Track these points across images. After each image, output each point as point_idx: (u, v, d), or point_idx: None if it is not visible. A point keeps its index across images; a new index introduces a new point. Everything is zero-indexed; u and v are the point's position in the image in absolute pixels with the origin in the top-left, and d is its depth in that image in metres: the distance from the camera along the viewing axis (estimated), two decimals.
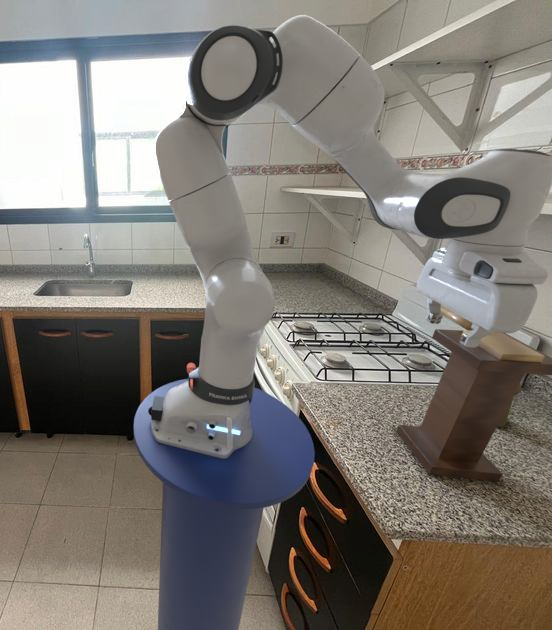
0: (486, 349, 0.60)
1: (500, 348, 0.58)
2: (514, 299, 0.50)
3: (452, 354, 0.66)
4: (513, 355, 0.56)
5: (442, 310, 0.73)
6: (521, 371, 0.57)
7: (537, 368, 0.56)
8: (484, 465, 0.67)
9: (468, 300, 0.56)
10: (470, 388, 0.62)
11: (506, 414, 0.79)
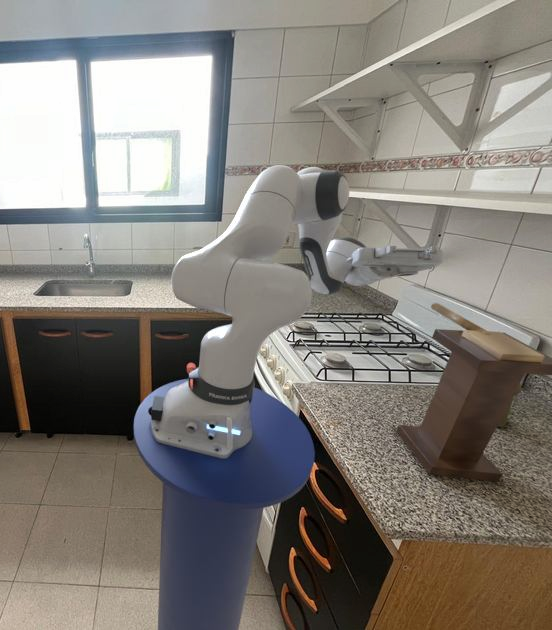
0: (486, 349, 0.60)
1: (500, 348, 0.58)
2: None
3: (452, 354, 0.66)
4: (513, 355, 0.56)
5: (442, 310, 0.73)
6: (521, 371, 0.57)
7: (537, 368, 0.56)
8: (484, 465, 0.67)
9: None
10: (470, 388, 0.62)
11: (506, 414, 0.79)
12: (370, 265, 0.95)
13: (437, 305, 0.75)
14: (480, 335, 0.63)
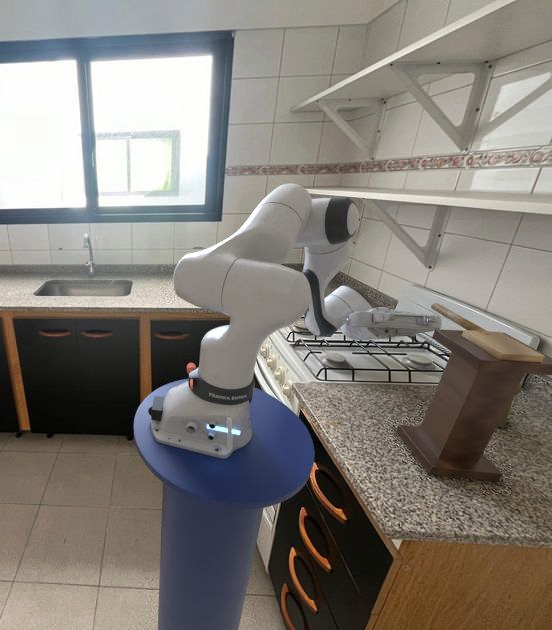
0: (486, 349, 0.60)
1: (500, 348, 0.58)
2: None
3: (452, 354, 0.66)
4: (513, 355, 0.56)
5: (442, 310, 0.73)
6: (521, 371, 0.57)
7: (537, 368, 0.56)
8: (484, 465, 0.67)
9: None
10: (470, 388, 0.62)
11: (506, 414, 0.79)
12: (368, 327, 0.94)
13: (437, 305, 0.75)
14: (480, 335, 0.63)
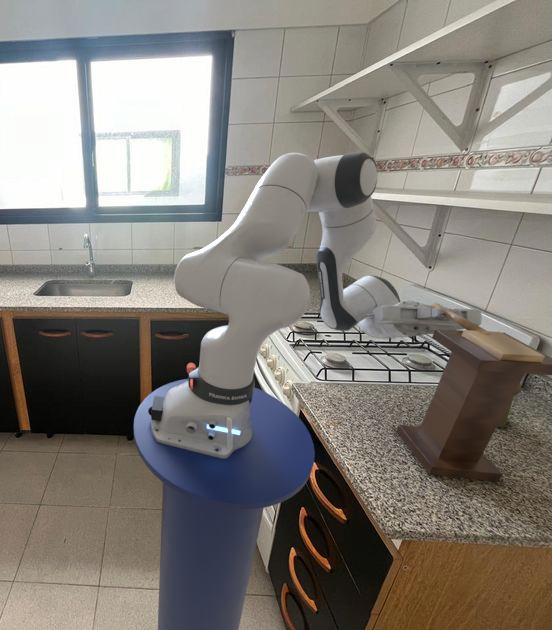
0: (486, 349, 0.60)
1: (500, 348, 0.58)
2: None
3: (452, 354, 0.66)
4: (513, 355, 0.56)
5: None
6: (521, 371, 0.57)
7: (537, 368, 0.56)
8: (484, 465, 0.67)
9: None
10: (470, 388, 0.62)
11: (506, 414, 0.79)
12: (394, 323, 0.83)
13: (437, 305, 0.75)
14: (480, 335, 0.63)
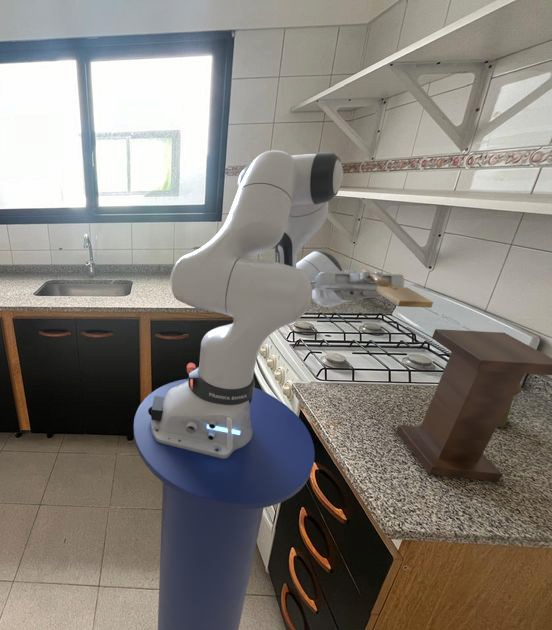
0: (390, 299, 0.71)
1: (399, 297, 0.70)
2: None
3: (452, 354, 0.66)
4: (408, 302, 0.68)
5: None
6: (521, 371, 0.57)
7: (537, 368, 0.56)
8: (484, 465, 0.67)
9: None
10: (470, 388, 0.62)
11: (506, 414, 0.79)
12: (333, 289, 0.95)
13: (365, 270, 0.87)
14: (389, 289, 0.74)
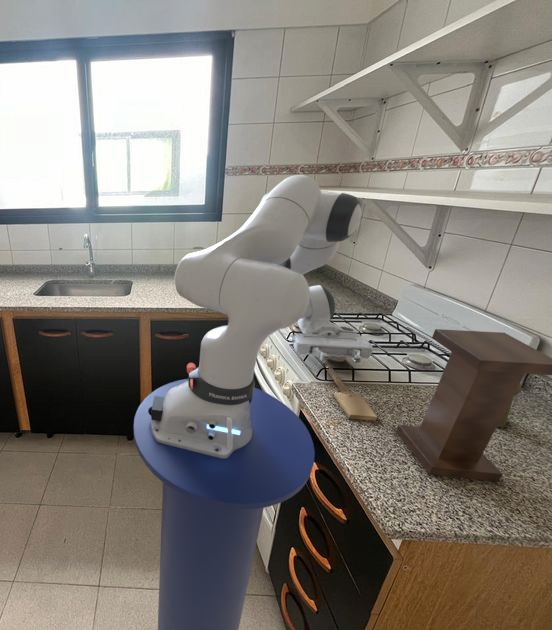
0: (343, 409, 0.85)
1: (350, 409, 0.84)
2: None
3: (452, 354, 0.66)
4: (357, 415, 0.82)
5: (330, 372, 0.99)
6: (521, 371, 0.57)
7: (537, 368, 0.56)
8: (484, 465, 0.67)
9: (345, 341, 0.99)
10: (470, 388, 0.62)
11: (506, 414, 0.79)
12: None
13: (328, 367, 1.01)
14: (344, 397, 0.88)
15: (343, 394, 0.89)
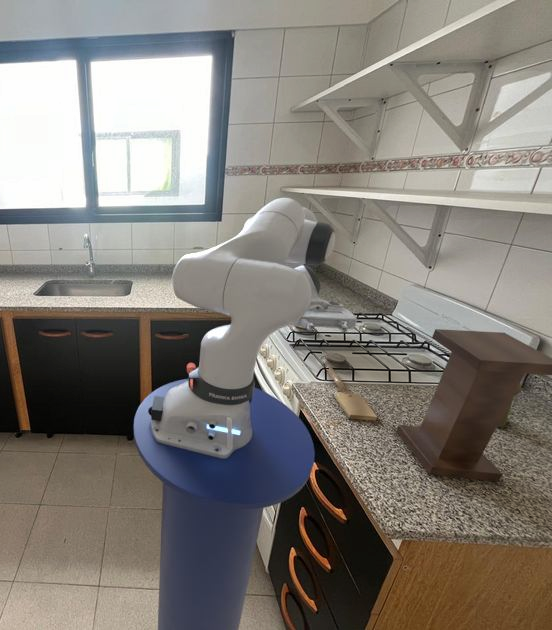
0: (343, 409, 0.85)
1: (350, 409, 0.84)
2: None
3: (452, 354, 0.66)
4: (357, 415, 0.82)
5: (330, 372, 0.99)
6: (521, 371, 0.57)
7: (537, 368, 0.56)
8: (484, 465, 0.67)
9: (332, 314, 1.09)
10: (470, 388, 0.62)
11: (506, 414, 0.79)
12: None
13: (328, 367, 1.01)
14: (344, 397, 0.88)
15: (343, 394, 0.89)
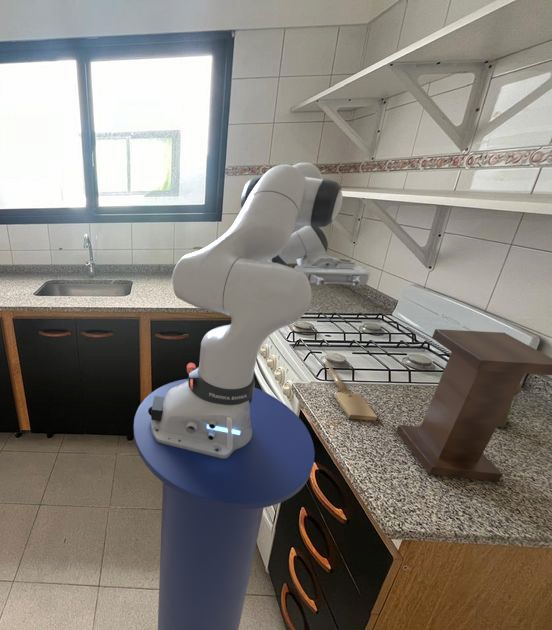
0: (343, 409, 0.85)
1: (350, 409, 0.84)
2: None
3: (452, 354, 0.66)
4: (357, 415, 0.82)
5: (330, 372, 0.99)
6: (521, 371, 0.57)
7: (537, 368, 0.56)
8: (484, 465, 0.67)
9: (343, 270, 1.03)
10: (470, 388, 0.62)
11: (506, 414, 0.79)
12: None
13: (328, 367, 1.01)
14: (344, 397, 0.88)
15: (343, 394, 0.89)
